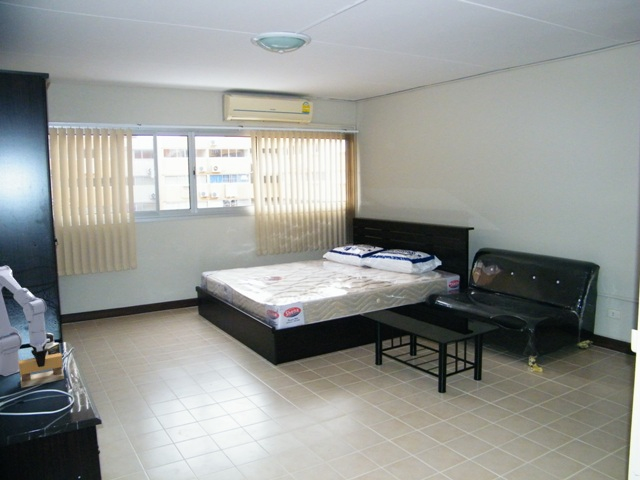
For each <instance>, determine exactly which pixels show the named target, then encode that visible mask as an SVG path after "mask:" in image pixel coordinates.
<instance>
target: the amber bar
mask: <svg viewBox="0 0 640 480" xmlns="http://www.w3.org/2000/svg"><path fill="white" fill-rule="evenodd" d="M58 367H61V368H63V367H64V363H63V355H62V352H60V353H58V354H52V355H47V356H46V357H45V365H44V366H43V367H38V365H37V362H36V359H35V357H31V358H26V359H21V360H20V359H19V370H20V372H19V376H21V375H23V374H28V373H30V374H32V373H37V372H38V373H39V372H43V371H48V370H53V368H58Z"/></svg>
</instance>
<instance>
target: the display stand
mask: <svg viewBox="0 0 640 480" xmlns="http://www.w3.org/2000/svg"><path fill="white" fill-rule="evenodd" d="M20 376H21V377H20V387H21V389H22V388H27V387H33V386H37V385H42V384H47V383H53V382H56V381H57V382H58V381H61V380H65V374H64V369H63V367H58V368H53V369H52V370H50V371H44V372H40V373H39V372H38V373H35V374H31V373H28V374H23V375H20Z"/></svg>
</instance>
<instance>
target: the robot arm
mask: <svg viewBox="0 0 640 480" xmlns="http://www.w3.org/2000/svg"><path fill="white" fill-rule="evenodd" d="M13 276H14V275H13V270H12V269H11V268H10V266H8V265H3V266H0V375H2V376H3V377H7V376H11V375H13V374H17V373H20V370H19V361H20V355H19V350H20V349H21V348H20V347H21V346H22V344H23V337H22V336H21V334H20V332H19V329H17V328H15V327H13V326H11V325H12V324H11V322H10V317H9V315H8V311H7V308H6V304H5V300H4V297H3V296H4V295H3V292H2V290H3V288H4V287H5V288H6V289H7V290H9V292H10V293H12V294H13V299H14V300H15V301H16V302H17V303H18V304H19V305H20V306H21V308H23V309H22V311H23V314H24V316H25V320H26V321H27V325H28V334H29V345H30V347H31V348H32V350H30V353H31V354H32V356H33V358H35V359H36V362H37V365H38V367H43V366H44V365H45V357H46V353H47V351H48V348H46V349H45V345H46V343H47V342H49V341H50V339H46V333H47V332H46V322H45V313H46V311H47V308H48V307H47V303H46V301H45V300H44V299H43V298H39V297H37V296H35V295H34V294H33V293H32V292H31V291H30V290H29V289H28V288H27V287H21V285H20V284H19V282H17V280H16V279H15V278H14V277H13Z"/></svg>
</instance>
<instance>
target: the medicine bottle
mask: <svg viewBox="0 0 640 480" xmlns="http://www.w3.org/2000/svg"><path fill="white" fill-rule="evenodd" d="M46 339H50V341H49V342H47V343H46V345H45V349H46V348H48V351H47V353H46V356H47V355H52V354H58V353H61V351H60V350H61V349H60V343H59V342H55V339H54V334H53V333H51V332H46Z"/></svg>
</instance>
